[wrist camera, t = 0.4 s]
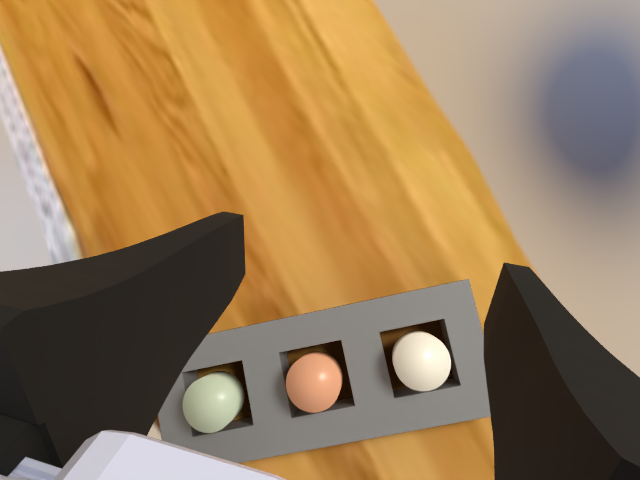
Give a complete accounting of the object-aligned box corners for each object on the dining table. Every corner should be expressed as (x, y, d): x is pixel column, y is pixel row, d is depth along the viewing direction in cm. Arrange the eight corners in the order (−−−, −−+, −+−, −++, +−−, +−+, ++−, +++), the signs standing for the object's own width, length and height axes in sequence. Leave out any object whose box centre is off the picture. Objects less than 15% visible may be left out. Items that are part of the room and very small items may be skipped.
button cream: (398, 388, 34) (400, 396, 31) (386, 336, 35) (387, 339, 32) (450, 378, 34) (457, 385, 31) (437, 325, 34) (443, 328, 32)
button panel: (183, 461, 38) (167, 476, 35) (164, 343, 39) (147, 347, 36) (492, 404, 35) (503, 414, 32) (461, 280, 37) (469, 279, 34)
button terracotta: (297, 408, 35) (291, 417, 32) (287, 356, 35) (280, 361, 33) (347, 398, 34) (345, 406, 32) (336, 346, 35) (334, 350, 32)
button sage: (200, 427, 35) (187, 437, 33) (192, 376, 36) (178, 382, 33) (248, 417, 35) (239, 427, 32) (239, 366, 36) (229, 372, 33)
